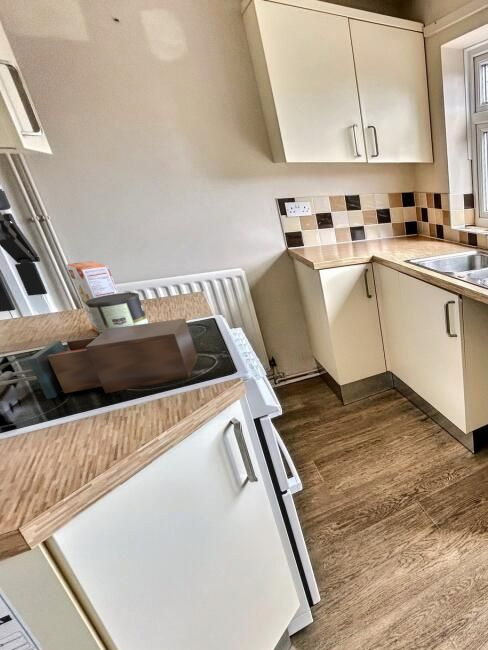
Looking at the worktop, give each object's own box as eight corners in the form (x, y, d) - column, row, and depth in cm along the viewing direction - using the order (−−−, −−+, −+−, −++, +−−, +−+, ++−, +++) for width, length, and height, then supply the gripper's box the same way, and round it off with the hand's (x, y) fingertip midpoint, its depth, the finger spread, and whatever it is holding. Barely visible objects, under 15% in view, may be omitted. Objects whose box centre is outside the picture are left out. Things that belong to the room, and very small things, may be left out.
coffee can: (143, 339, 120) (125, 291, 114) (164, 344, 115) (146, 294, 110) (98, 352, 111) (76, 300, 106) (119, 358, 107) (97, 304, 102)
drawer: (-11, 409, 81) (-34, 368, 78) (19, 386, 91) (0, 348, 87) (131, 383, 90) (116, 345, 87) (145, 364, 100) (132, 329, 97)
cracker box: (93, 334, 125) (64, 264, 118) (119, 328, 130) (93, 260, 122) (108, 342, 118) (78, 268, 110) (135, 335, 123) (108, 264, 115)
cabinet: (105, 393, 88) (85, 346, 84) (123, 371, 99) (106, 329, 95) (189, 377, 94) (174, 333, 91) (198, 358, 105) (185, 318, 101)
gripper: (-41, 188, 67) (17, 315, 74) (32, 186, 87) (72, 286, 95) (-114, 189, 63) (-45, 322, 71) (-20, 187, 84) (26, 290, 92)
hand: (22, 302), depth 83 cm, fingers open, 13 cm apart
